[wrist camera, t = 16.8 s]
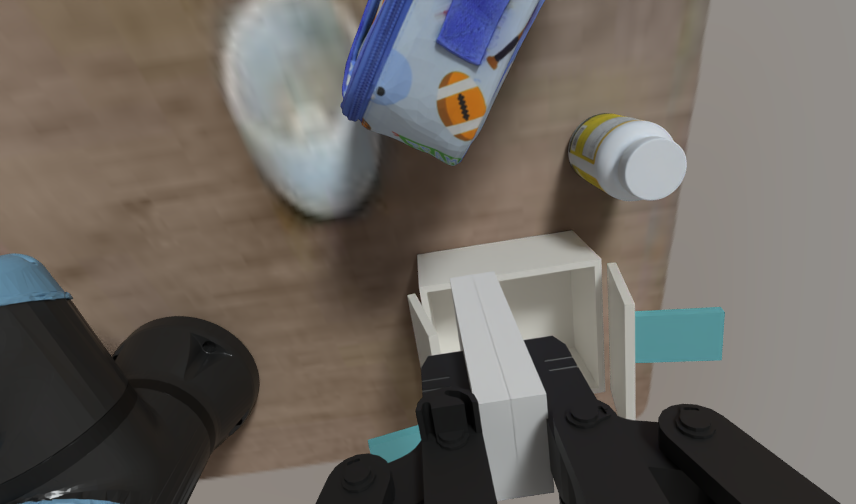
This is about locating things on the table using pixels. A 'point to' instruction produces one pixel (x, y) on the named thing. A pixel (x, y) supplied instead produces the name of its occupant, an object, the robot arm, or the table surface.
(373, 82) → the lunch box
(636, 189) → the pill bottle
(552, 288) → the carton
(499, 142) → the table surface
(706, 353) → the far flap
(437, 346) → the flap
